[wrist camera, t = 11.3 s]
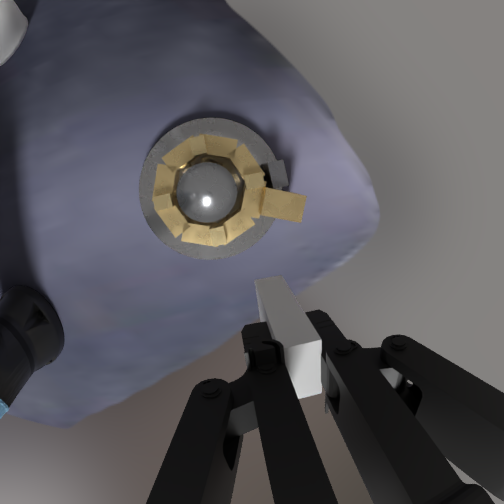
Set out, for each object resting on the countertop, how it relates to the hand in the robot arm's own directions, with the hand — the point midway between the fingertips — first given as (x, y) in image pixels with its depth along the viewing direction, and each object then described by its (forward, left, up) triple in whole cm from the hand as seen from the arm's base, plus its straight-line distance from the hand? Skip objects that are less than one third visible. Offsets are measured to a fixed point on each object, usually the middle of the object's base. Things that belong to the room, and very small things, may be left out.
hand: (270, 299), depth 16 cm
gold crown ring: (+4, +3, -21) cm, 21 cm away
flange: (+4, +5, -23) cm, 24 cm away
